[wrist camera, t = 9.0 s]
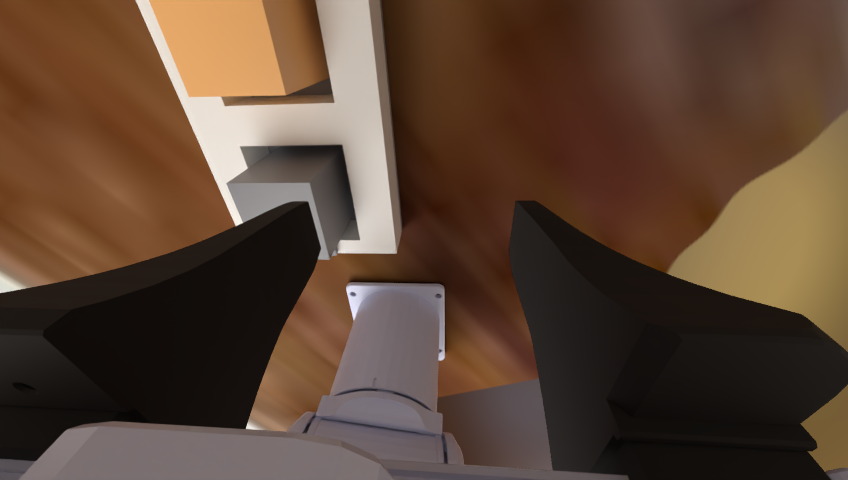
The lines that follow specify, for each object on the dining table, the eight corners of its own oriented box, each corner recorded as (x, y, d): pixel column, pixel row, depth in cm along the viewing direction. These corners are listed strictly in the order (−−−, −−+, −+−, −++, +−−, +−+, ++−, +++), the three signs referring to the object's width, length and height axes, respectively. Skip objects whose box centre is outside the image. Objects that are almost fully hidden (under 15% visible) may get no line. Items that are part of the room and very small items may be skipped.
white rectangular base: (402, 228, 22) (388, 285, 17) (269, 228, 23) (219, 282, 18) (373, -88, 13) (327, -158, 8) (157, -71, 14) (-2, -125, 9)
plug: (331, 77, 17) (286, 95, 12) (259, 78, 17) (189, 97, 12) (312, -32, 14) (246, -60, 10) (228, -28, 14) (126, -54, 10)
